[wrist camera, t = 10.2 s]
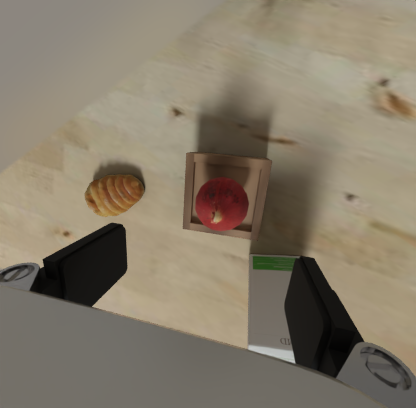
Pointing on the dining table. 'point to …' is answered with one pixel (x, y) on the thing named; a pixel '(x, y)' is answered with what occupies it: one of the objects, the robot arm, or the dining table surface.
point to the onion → (221, 204)
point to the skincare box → (269, 305)
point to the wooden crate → (234, 169)
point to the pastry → (113, 194)
